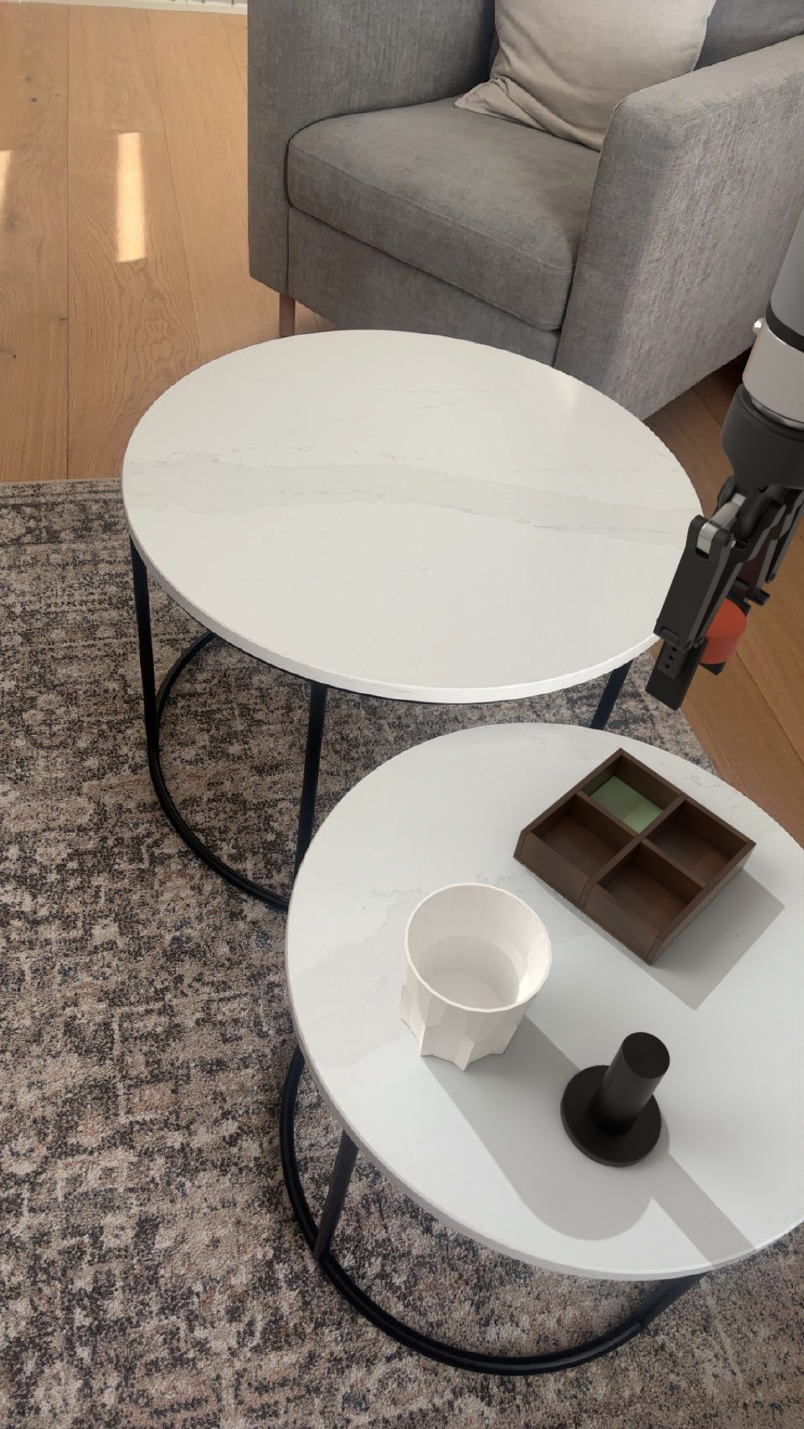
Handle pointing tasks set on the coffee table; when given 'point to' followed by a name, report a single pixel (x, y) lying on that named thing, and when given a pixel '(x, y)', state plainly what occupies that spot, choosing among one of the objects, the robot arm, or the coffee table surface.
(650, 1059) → the stand
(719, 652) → the token
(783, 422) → the robot arm
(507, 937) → the cup
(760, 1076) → the coffee table surface
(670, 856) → the grid
